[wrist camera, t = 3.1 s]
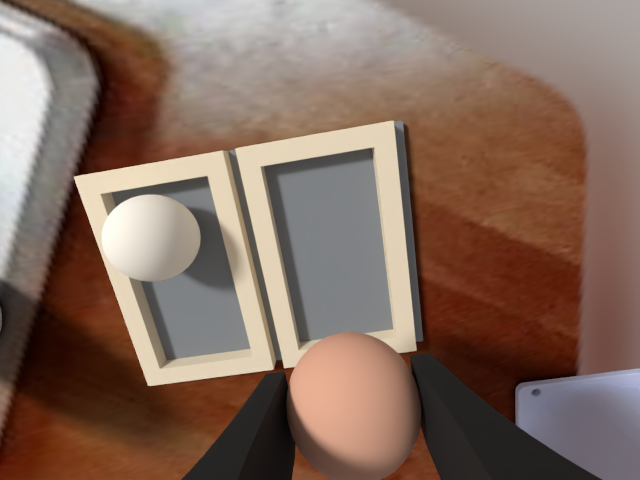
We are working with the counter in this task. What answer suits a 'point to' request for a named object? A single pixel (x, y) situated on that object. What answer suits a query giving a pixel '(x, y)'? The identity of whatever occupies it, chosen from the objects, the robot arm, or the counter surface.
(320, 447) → the ball terracotta
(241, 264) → the tray
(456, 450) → the robot arm
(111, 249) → the ball cream
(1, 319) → the supplement bottle
